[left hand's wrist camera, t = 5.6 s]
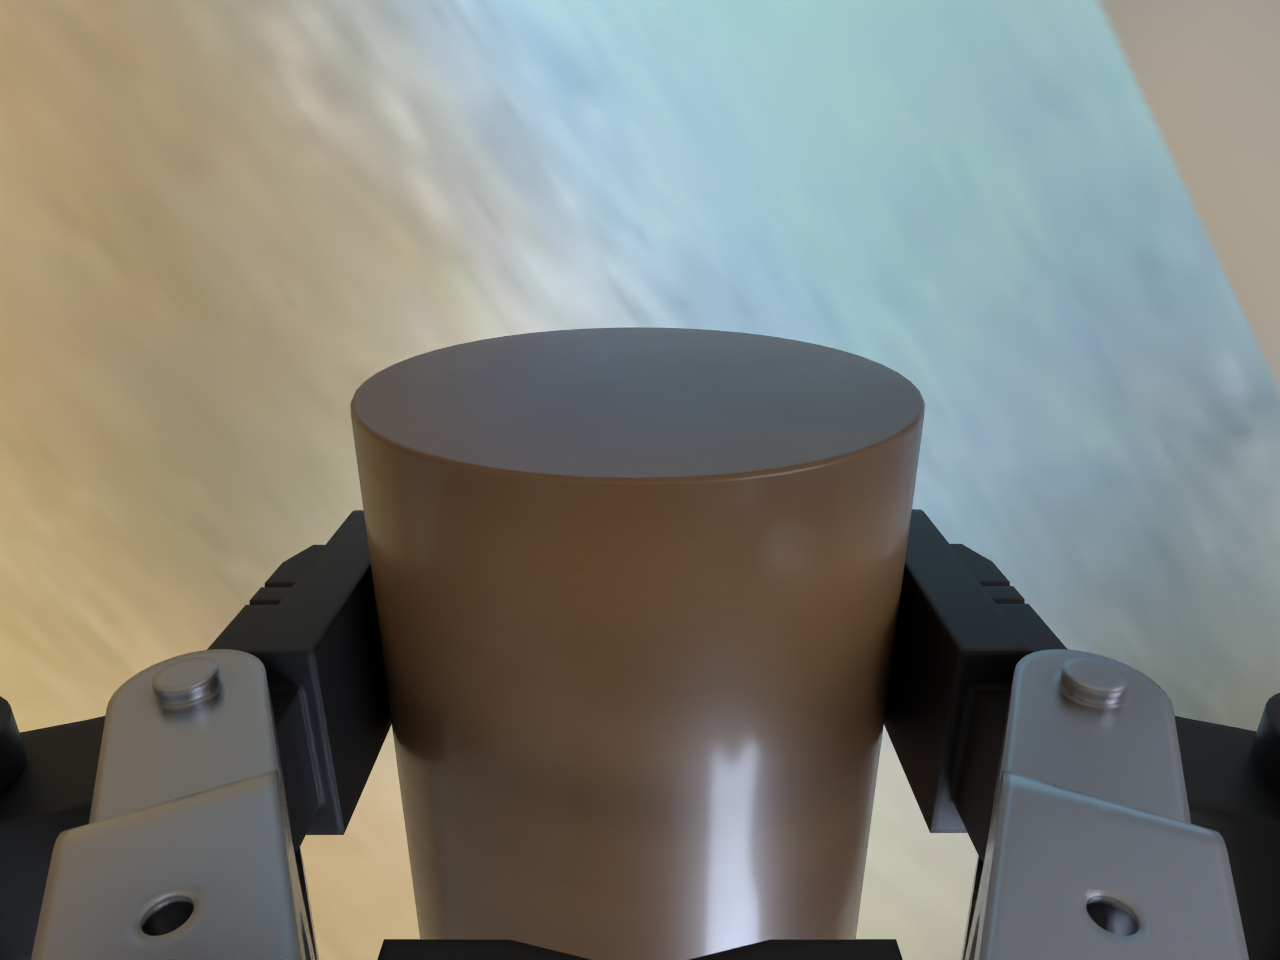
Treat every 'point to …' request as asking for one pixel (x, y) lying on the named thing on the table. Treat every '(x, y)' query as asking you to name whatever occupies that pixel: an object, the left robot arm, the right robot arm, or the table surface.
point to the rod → (637, 630)
